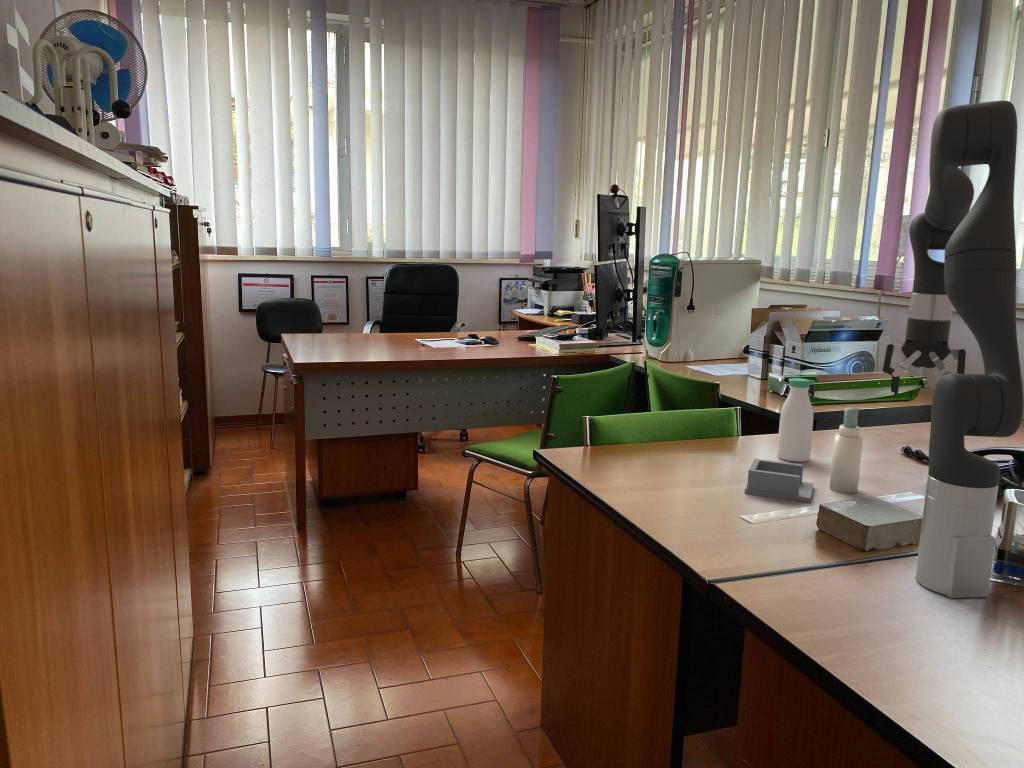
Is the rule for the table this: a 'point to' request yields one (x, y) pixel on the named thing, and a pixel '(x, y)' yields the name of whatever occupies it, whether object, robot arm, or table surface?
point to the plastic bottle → (847, 454)
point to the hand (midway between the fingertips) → (919, 396)
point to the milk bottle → (796, 423)
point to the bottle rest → (778, 481)
